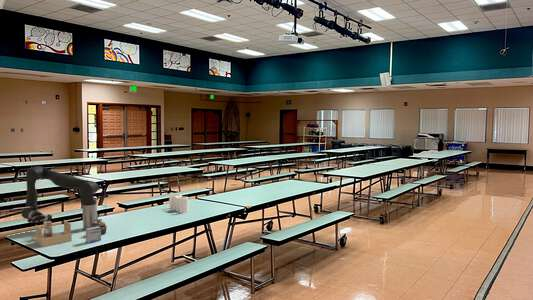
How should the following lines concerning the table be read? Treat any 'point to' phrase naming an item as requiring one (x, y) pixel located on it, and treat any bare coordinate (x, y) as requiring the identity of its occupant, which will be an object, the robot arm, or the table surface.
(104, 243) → the table surface
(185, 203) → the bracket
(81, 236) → the table surface
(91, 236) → the medicine box
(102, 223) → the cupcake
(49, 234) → the box
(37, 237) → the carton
